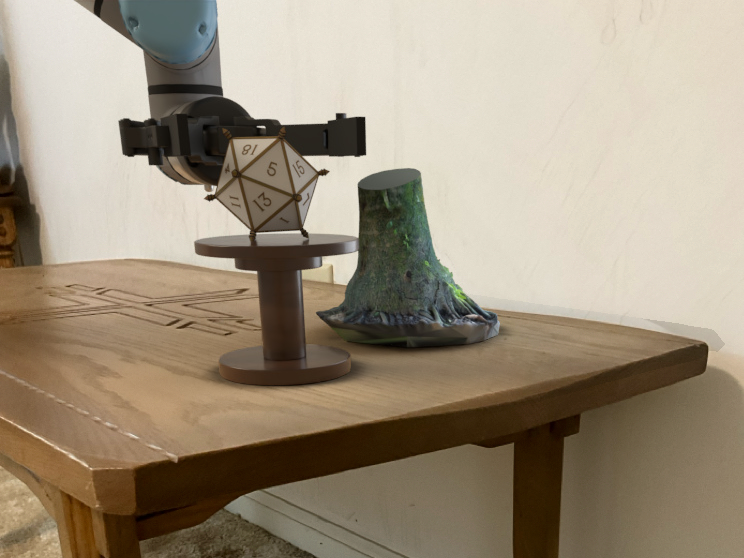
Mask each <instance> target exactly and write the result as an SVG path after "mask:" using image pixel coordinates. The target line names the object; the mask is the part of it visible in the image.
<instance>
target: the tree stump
mask: <svg viewBox="0 0 744 558" xmlns="http://www.w3.org/2000/svg"><path fill="white" fill-rule="evenodd" d="M357 197H358V237H357V238H359V250H358V251H357V262H356V268H355V271H354V272H353V274H352V276H351V278H350V279H349V280H348V282H347V285H346V288H345V291H344V299H343V301H342V302H341V303H340V304H339V305H337V306H334V307H331V308H328V309H325V310H317V311H316V312H315V314H316V316H318V318H319V319H320V320H321V321H323V323H325V324H326V325H327V326H328V327H329V328H331V329H332V330H333V331H334V332H335V333H336V334H337V335H339V337H341V338H342V339H343V340H344V341H345V342H352V343H361V344H371V345H381V346H390V347H399V348H401V347H402V348H423V347H440V346H455V345H468V344H473V343H478V342H484V341H486V340H488V339H491V338H494V337H496V336H498V335H499V330H500V327H501V323H500V320H498V319H499V317H498V314H497V313H495V312H493V311H490V310H485V309H483V308H482V307H481V306H480V305H479V304H478V303H476V302H475V301H474V299H472V298H471V297H470V296H468V295H467V294H466V292H464V291H463V288H462V287H461V286H460V284H457V283H456V281H455V280H454V278H453V277H454V274H453V271H450V268H448V267H447V266H445V265H443V264H442V262H440V261H441V259H438V256H437V255H436V250H435V248H434V243H433V238H432V234H431V229H430V224H429V219H428V214H427V209H426V204H425V196H424V186H423V179H422V172H421V171H420V170H418V169H416V168H411V167H405V168H402V167H401V168H394V169H393V168H392V169H386V170H381V171H377V172H374V173H371V174H368V175H367V176H365V177H363V178H361V179H360V180H359V181H358V182H357Z"/></svg>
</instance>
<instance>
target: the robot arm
mask: <svg viewBox="0 0 744 558" xmlns="http://www.w3.org/2000/svg"><path fill="white" fill-rule="evenodd" d="M73 1H74V2H76V3H77V4H79V5H80V6H81V7H83V9H86V10H87V11H88V12H89V13H91V14H92V15H94V16H96V17H97V18H98V19H100V20H101V21H102V22H103V23H104V24H106V25H107V26H108V27H110V28H111V29H113V30H114V31H116V32H117V33H118V34H120V35H121V36H122V37H124V38H125V39H127V40H129V41H130V42H131V43H133V44H134V45H135V46H137V47H138V48H139V49H141V50H142V53H143V60H144V61H143V62H144V67H145V69H144V70H145V74H146V83H147V94H148V95H147V96H148V107H149V116H150V118H147V119H144V120H143V121H140V120H132V119H131V118H129V117H128V118H127V117H123V118H120V119H119V120H118V128H119V129H118V130H119V137H120V145H121V152H122V153H121V154H122V155H123V156H124V157H127V158H135V156H143V157H147V161H148V166H155V167H156V168H157V169H158V171H160V172H161V174H162V175H164V176H165V177H167V178H168V179H170V180H172V181H173V182H175V183H178V184H180V185H184V186H203V189H204V190H205V192H207V193H212V192H214V191H215V187H217V184H218V180H219V177H220V173H221V169H222V166H223V162H224V158H225V155H226V151H227V147H228V143H229V139H228V138H226V136H225V135H223V134H224V133H223V129H222V128H224V129H226V130H229V132H230V133H231V136H232V137H267V136H277V135H278V132H279V130H280V129H282V128H283V127H284V128H285V130H286V134H285V137H284V139H285V140H286V141H287V142H288V143H289V144H290V145H291V146H292V147H293V148H294V149H295V150H296V151H297V152H298V153H299V154H300V155H301V156H302V157H330V158H331V157H333V158H334V157H337V158H344V157H354V158H361V157H363V156H367V125H366V116H350V117H347V113H346V112H335V119H330V120H327V123H326V122H325V123H300V124H299V123H297V124H296V123H293V124H281V121H279V119H275V118H254V117H253V116H252V115H250V113H249V112H248V111H247V110H246V109H245V107H243V106H242V105H241V104H240V103H238V102H236V101H234V100H233V99H231V98H228V97H225V96H224V88H223V84H222V69H221V68H222V67H221V52H220V51H221V50H220V37H219V36H220V35H219V25H218V24H219V23H218V17H219V13H218V3H217V2H218V1H217V0H73Z"/></svg>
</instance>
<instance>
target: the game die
mask: <svg viewBox="0 0 744 558" xmlns="http://www.w3.org/2000/svg"><path fill="white" fill-rule="evenodd" d="M222 129H223V133H224V134H223V135H225V136H226V138H228V139H229V143H228V147H227V151H226V155H225V158H224V162H223V166H222V169H221V173H220V177H219V180H218V184H217V186H216V188H215V190H214V191H215V192H214V193H213V194H212V193H210V194H208V193H207V195H206V196H205V197H204V198H203V200H205V201H208V202H209V203H211V201H212V202H213V201H214V200H217V201H218V202H219V204H221V205H222V206H223V207H224V208H225V209H227V211H229V212H230V213H231V214H232V215H233V216H234V217H235V218H236V219H237V220H238V221H239V222H240V223H242V225H244V226H245V227H246V228H247V229H248V230H249V234H250V235H249V239H250V241H251V242H252V241H253V240H255V239H256V238H255V237H256V236H257V235H256V234H265V233H279V232H281V233H282V232H298V231H299V232H300V233H301V235H303V237H306V238H309V236H308V233H309V232H308V231H307V230H306V229H305V228H304V226H305V222H306V219H307V215H308V213H309V210H310V206H311V203H312V199H313V197H314V193H315V190H316V187H317V183H318V180H319V177H320V176H321V177H326V176H327V175H328V174H329V173H330V172H331V170H328V169H326V168H323V169H322V168H321V169H320V170H317V169H316V168H315V167H314V166H313V165H312V164H311V163H310V162H309V161H308V160H307V159H306V158H305V157H304V156H301V155H300V154H299V153H298V152H297V151H296V150H295V149H294V148H293V147H292V146H291V145H290V144H289V143H288V142H287V141H286V140H285V139H284V137H285V134H286V130H285V128H284V127H283V128H282V129H280V130H279V132H278V135H277V136H267V137H232V136H231V133H230V132H229V130H226V129H224V128H222Z"/></svg>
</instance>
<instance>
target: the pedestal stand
mask: <svg viewBox="0 0 744 558" xmlns="http://www.w3.org/2000/svg"><path fill="white" fill-rule="evenodd" d="M249 235H250V234H233V235H219V236H211V237H203V238H198V239H196V240H194V241H193V245H194V246H193V247H194V253H195V254H196V255H197V256H201V257H207V258H216V259H233V260H234V268H235V269H236V270H241V271H248V272H256V278H257V292H258V304H259V317H260V329H261V343H262V345H255V346H248V347H244V348H243V347H242V348H238V349H234V350H231V351H228V352H226V353H223V354H221V355H220V356H219V358H218V368H219V369H218V370H219V375H220V376H221V377H222V378H223V379H225V380H228V381H231V382H234V383H238V384H244V385H245V384H246V385H254V386H295V385H306V384H315V383H320V382H326V381H330V380H331V381H332V380H335V379H338V378H340V377H343V376H345V375H347V374H348V373H349V372H350V371H351V369H352V361H351V360H352V359H351V352H349V351H348V350H345V349H343V348H341V347H337V346H331V345H327V344H326V345H325V344H316V343H315V344H314V343H307V341H306V340H307V338H306V323H305V322H306V321H305V306H304V305H305V303H304V288H303V287H304V285H303V271H308V270H313V269H314V270H315V269H319V268H321V267H323V264H324V263H323V257H324V258H325V257H333V256H341V255H348V254H353V253H356V252H358V250H359V238H358V237H357V236H354V235H346V234H337V233H309V232H308V236H309V238H306V237H303V235H301V232H300V233H299V232H298V233H292V232H291V233H289V232H288V233H285V232H284V233H282V232H281V233H256V235H257V236H256V237H255V238H256V239H255V240H253V241H252V242H251V241H250V239H249Z"/></svg>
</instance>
